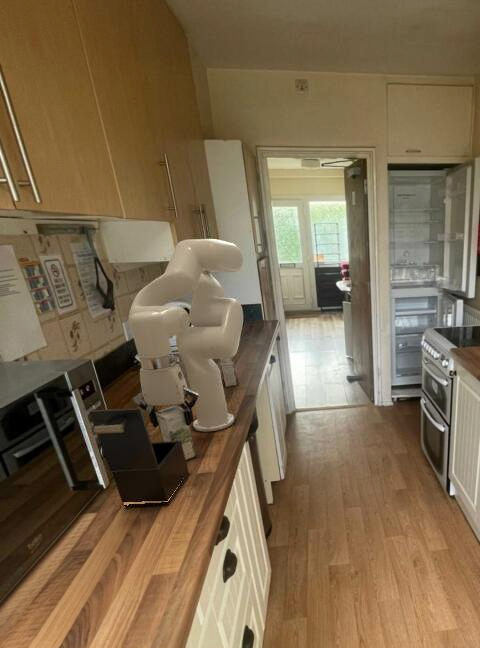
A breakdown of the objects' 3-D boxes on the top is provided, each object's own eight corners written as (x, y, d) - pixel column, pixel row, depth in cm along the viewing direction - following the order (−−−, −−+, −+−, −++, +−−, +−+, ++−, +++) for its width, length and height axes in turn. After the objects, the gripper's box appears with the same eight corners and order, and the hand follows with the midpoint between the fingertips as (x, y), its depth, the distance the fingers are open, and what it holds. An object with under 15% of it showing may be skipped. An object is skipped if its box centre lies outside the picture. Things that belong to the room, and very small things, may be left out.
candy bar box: (223, 379, 180) (215, 340, 173) (235, 377, 182) (228, 339, 175) (224, 387, 171) (216, 347, 164) (237, 385, 172) (230, 345, 166)
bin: (149, 476, 111) (139, 443, 107) (189, 474, 111) (180, 440, 107) (124, 508, 98) (111, 472, 94) (168, 505, 99) (158, 469, 95)
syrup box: (186, 450, 123) (174, 404, 117) (197, 456, 119) (185, 409, 113) (167, 458, 119) (153, 411, 113) (177, 465, 116) (164, 416, 109)
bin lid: (91, 410, 88) (76, 421, 84) (141, 407, 89) (129, 418, 84) (112, 469, 94) (99, 482, 90) (158, 466, 95) (148, 479, 90)
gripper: (197, 356, 112) (210, 417, 119) (129, 359, 111) (146, 420, 118) (187, 364, 105) (202, 428, 112) (114, 368, 104) (134, 432, 111)
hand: (173, 424), depth 115 cm, fingers closed on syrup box, 8 cm apart
